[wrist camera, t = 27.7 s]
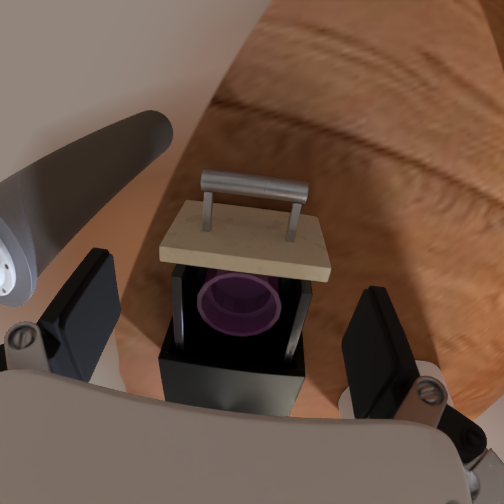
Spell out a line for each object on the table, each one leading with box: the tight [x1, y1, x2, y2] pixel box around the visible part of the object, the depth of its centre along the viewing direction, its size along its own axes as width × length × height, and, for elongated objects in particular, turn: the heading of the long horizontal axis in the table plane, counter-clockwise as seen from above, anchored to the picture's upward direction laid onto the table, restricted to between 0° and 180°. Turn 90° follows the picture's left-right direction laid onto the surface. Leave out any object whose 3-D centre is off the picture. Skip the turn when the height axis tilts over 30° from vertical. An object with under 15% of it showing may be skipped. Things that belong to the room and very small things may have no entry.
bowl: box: [197, 267, 282, 337], centre depth 28 cm, size 7×7×5 cm
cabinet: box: [158, 316, 305, 417], centre depth 33 cm, size 14×13×10 cm
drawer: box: [159, 168, 332, 369], centre depth 26 cm, size 18×11×8 cm, turn 173°
